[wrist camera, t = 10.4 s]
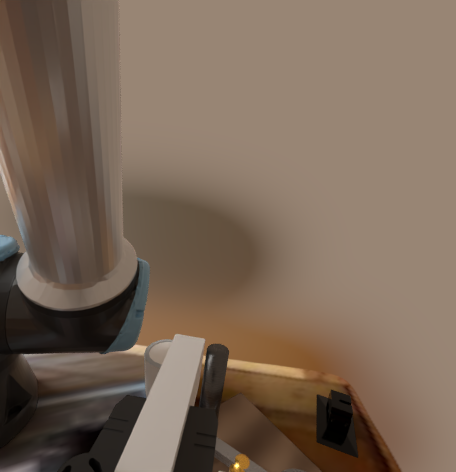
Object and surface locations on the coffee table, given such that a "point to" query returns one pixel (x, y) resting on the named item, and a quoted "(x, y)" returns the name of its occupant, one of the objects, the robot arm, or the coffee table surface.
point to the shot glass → (154, 361)
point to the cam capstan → (211, 395)
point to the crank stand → (257, 438)
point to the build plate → (336, 423)
